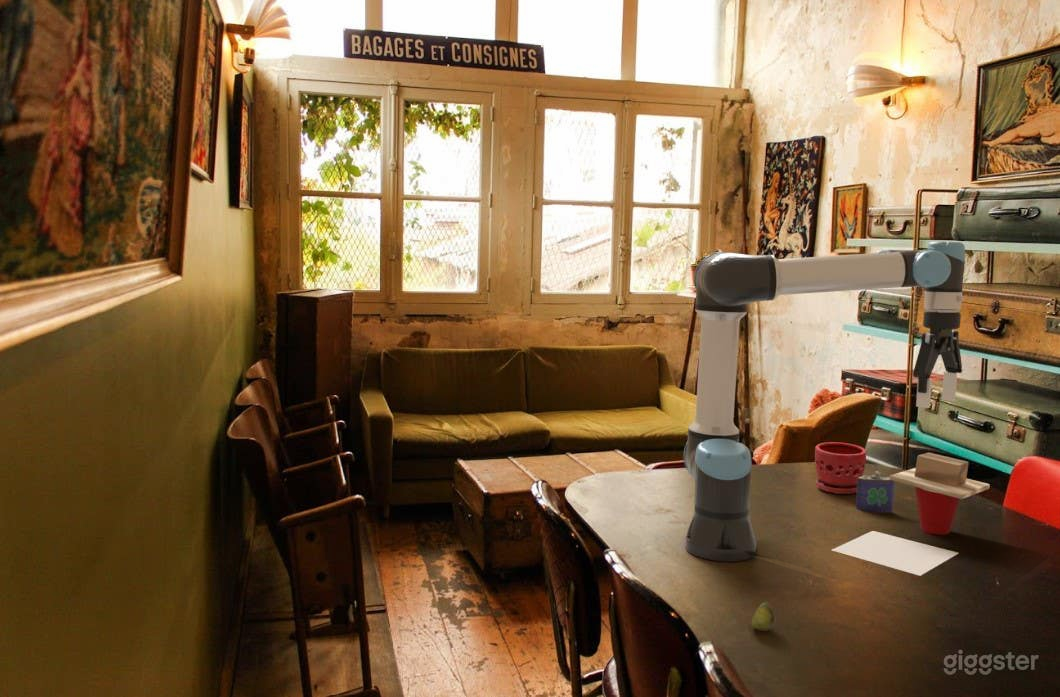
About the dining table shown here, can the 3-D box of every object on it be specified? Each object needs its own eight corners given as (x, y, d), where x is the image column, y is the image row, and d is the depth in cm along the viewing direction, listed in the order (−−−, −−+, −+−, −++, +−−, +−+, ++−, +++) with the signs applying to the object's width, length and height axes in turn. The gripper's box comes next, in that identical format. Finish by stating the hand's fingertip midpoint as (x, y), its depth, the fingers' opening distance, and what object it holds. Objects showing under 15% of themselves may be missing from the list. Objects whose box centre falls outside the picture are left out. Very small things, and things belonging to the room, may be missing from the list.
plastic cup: (968, 544, 186) (971, 492, 185) (916, 540, 189) (919, 489, 187) (954, 528, 197) (957, 479, 196) (905, 525, 199) (908, 476, 198)
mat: (919, 580, 166) (920, 575, 166) (830, 554, 180) (830, 550, 180) (958, 557, 178) (958, 553, 178) (872, 534, 192) (872, 530, 192)
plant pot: (803, 486, 232) (805, 444, 230) (838, 481, 237) (840, 440, 236) (838, 499, 220) (840, 455, 219) (875, 493, 225) (877, 450, 224)
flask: (891, 511, 210) (893, 469, 209) (895, 515, 207) (898, 473, 206) (854, 510, 210) (856, 469, 209) (858, 514, 207) (860, 472, 206)
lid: (961, 499, 180) (966, 472, 179) (889, 479, 192) (892, 454, 191) (989, 488, 191) (993, 463, 190) (918, 470, 203) (922, 446, 202)
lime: (750, 635, 142) (751, 607, 141) (748, 622, 147) (749, 595, 146) (777, 637, 141) (778, 609, 141) (774, 625, 146) (775, 597, 145)
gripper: (935, 314, 176) (929, 412, 179) (981, 309, 193) (975, 400, 195) (900, 311, 182) (894, 407, 184) (948, 307, 198) (942, 395, 201)
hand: (935, 403), depth 190 cm, fingers open, 13 cm apart
